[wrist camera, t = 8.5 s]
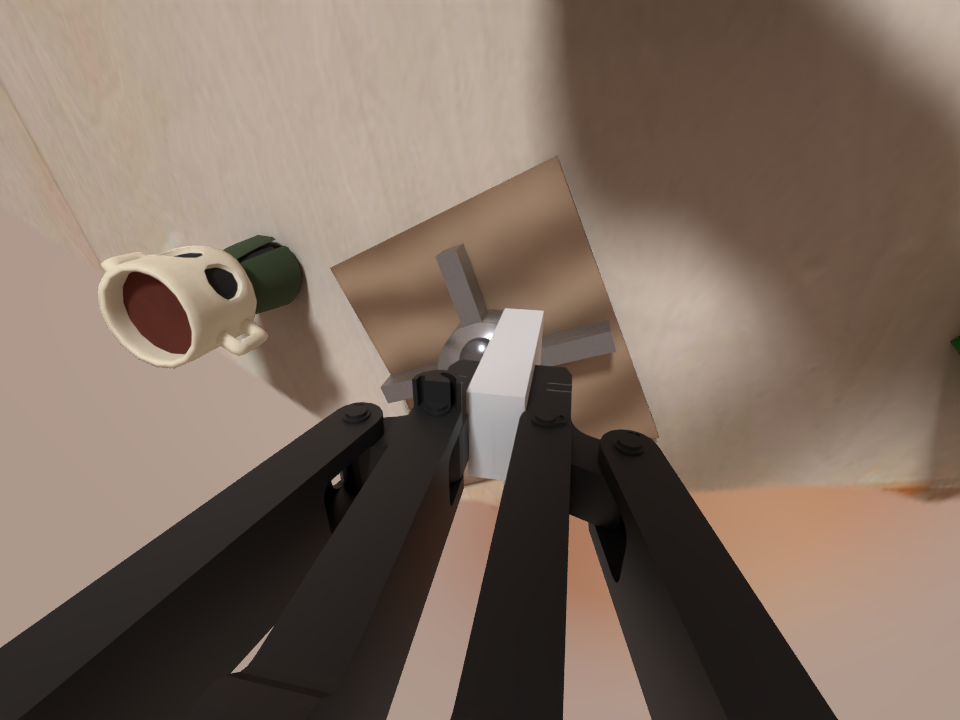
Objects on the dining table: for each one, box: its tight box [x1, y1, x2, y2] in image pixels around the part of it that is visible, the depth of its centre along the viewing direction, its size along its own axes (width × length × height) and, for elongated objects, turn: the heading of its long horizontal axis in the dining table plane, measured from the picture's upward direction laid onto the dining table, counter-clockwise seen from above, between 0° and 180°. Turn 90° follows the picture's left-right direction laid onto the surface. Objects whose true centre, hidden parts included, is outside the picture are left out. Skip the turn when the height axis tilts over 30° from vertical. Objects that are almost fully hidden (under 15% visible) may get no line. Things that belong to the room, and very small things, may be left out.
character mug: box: [98, 235, 302, 368], centre depth 33 cm, size 11×7×13 cm, turn 58°
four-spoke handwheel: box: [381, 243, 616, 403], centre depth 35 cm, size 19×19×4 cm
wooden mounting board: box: [330, 156, 659, 485], centre depth 36 cm, size 24×20×4 cm
